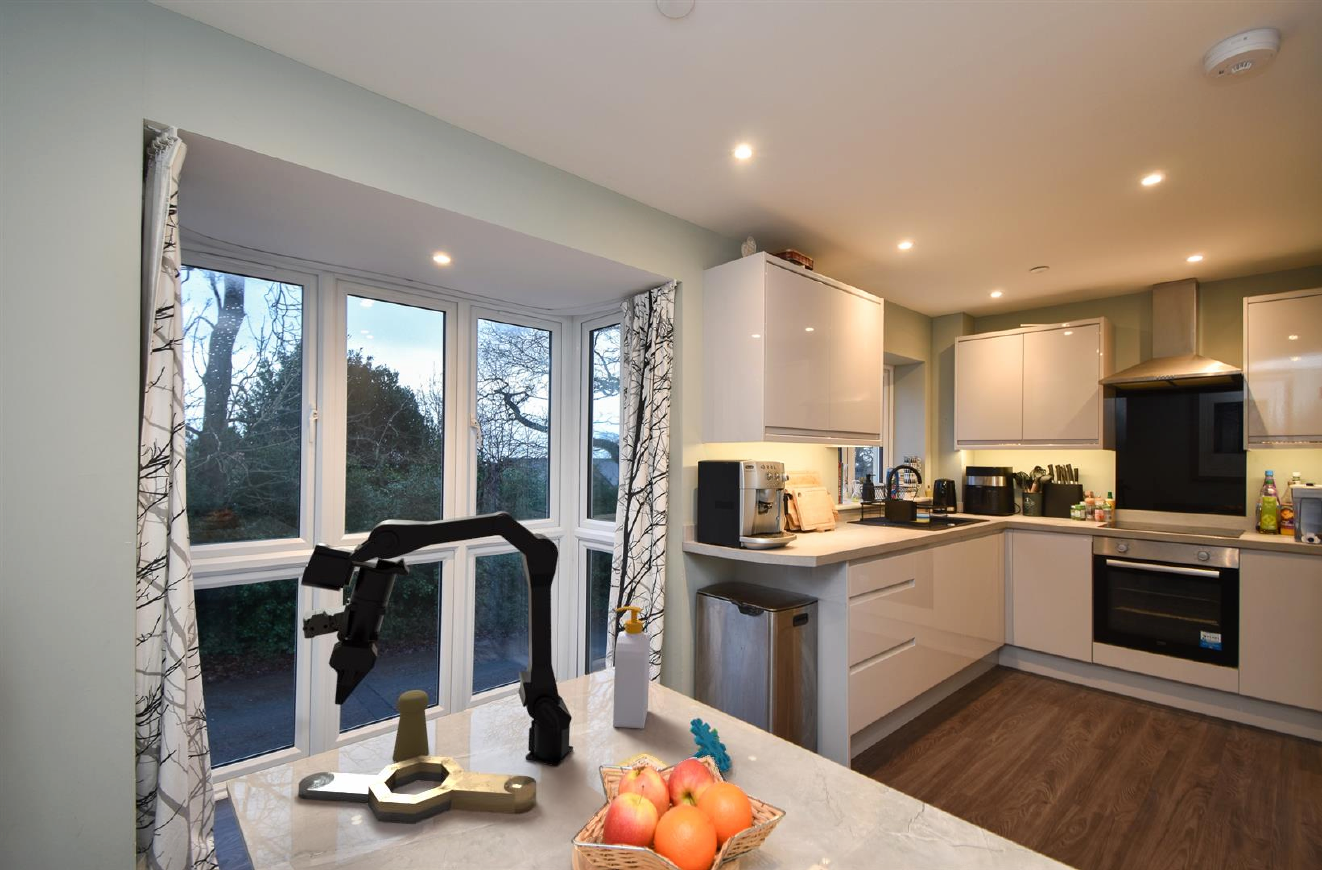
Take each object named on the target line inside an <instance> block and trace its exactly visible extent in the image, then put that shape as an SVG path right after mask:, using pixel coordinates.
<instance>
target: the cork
mask: <svg viewBox="0 0 1322 870" xmlns="http://www.w3.org/2000/svg"><path fill="white" fill-rule="evenodd" d="M396 704H397V705H396V706H397V707H396V708H397V711H398V713H399V714H400V716H399V720H398V726H397V732H396V737H395V742H394V749H393V754H392V760H393V761H394V762H395V761H396V762H395V763H398V762H402V761H405V760H408V759H411V758H414V757H418V756H429V754H430V748H429V747H430V746H429V739H428V728H427V719H426V710H427V708H428V706H429V695H428V694H427V692H426V691H424V690H421V689H413V690H408V691H405V692H404V693H402V694H401V695H400V696H399V697H398V699H397V703H396Z"/></svg>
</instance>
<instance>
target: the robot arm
mask: <svg viewBox="0 0 1322 870" xmlns="http://www.w3.org/2000/svg"><path fill="white" fill-rule="evenodd" d="M495 536H498V537H499V536H500V537H501V538H503V539H504V540H505V541H507V542H508V544H510V545H512V547H514V548H515V549H517V550H518V551H519V552H520V553H521V558H522V564H523V568H524V569H523V570H524V574H525V577H526V580H527V585H528V586H527V588H528V590H527V591H528V595H527V597H528V664H527V667H526V670H519V671H518V677H519V688H518V695H519V699H520V701H521V703H522V707H523V708H525V709H526V711H527V714H528V716H529V717H530V718H532V720H531V721H530V722H531V723H530V724H531V726H530V727H529V729H528V747H527V748H528V753H527V754H526V755H525V760H526V761H531V762H535V763H540V764H545V765H549V766H552V767H557V766H559V765H560V764H561V763H562V762H563V761H564V760H565V759H566V758H567V757H568V756H569V755H570V754H571V753H572V752H573V750H574V747H573V746H571V745H570V727H571V722H572V719H573V717H572V715H571V713H570V711H569V709H568V707H567V704H566V703H565V701H564V699H563V697H562V696H561V695H560V694H559V692H558V691H559V690H558V686H557V680H556V677H555V673H554V672H555V671H554V668H553V663H552V662H553V661H552V658H553V657H552V585H553V581H554V578H555V574H556V572H557V565H558V559H559V549H558V546H557V545H556V543H554V541H553V540H551V539H550V537H548V536H546V535H545V534H543V533H533V532H532V531H530V530H529V529H528V528H527V527H525V526H524V525H522V524H521V523H520V522H519V521H517V520H516V519H515V518H514V517H513V516H512V515H511V514H510V513H509V512H507V511H505V510H499V511H496V512H493V513H487V514H486V513H485V514H478V515H471V516H462V517H456V518H448V519H440V520H432V521H421V520H420V521H419V520H407V519H385V520H383V521H381V522H379V523H378V524H376V525H375V526H374V527H373V528H372V529H371V532H370V533H369V535H368V537H367V539H365V540H364V542H361V544H357V546H356V547H355V548H354V549H353V550H352V549H347V548H341V547H336V546H333V545H329V544H327V543H322V542H318V543H317V544H316V545H315V546H314V550H313V552H312V553H311V556H310V558H309V561H308V564H307V565H305V568H304V570H303V574H302V577H301V582H300V585H301V586H305V587H311V588H314V589H315V588H316V589H322V590H323V589H324V590H327V591H334V592H341V590H342V589H344V588H345V587H348V588H349V587H350V586H351V583H352V580H353V578H354V574H355V571H356V568H358V572H357V575H356V579H355V582H354V585H353V588H352V591H351V593H350V594H351V595H350V598H349V597H348V598H347V601H346V603H345V605H339V606H337V605H336V606H330V607H324V608H319V609H312V610H308V611H306V612H305V613H304V615H303V617H302V624H303V627H302V631H303V636H304V639H314V638H315V637H318V636H323V635H329V634H334V633H336V632H337V633H336V638H337V640H338V641H337V642H335V643H334V645H333V648H332V651H331V654H330V657H329V661H328V664H329V667H330V668H331V669H333V670H334V672H336V685H335V695H334V698H335V699H334V705H338V706H339V705H340V706H342V705H344V703H345V702H346V701H347V700H348V698H349V697H350V696H351V695H352V693H353V692H354V691H355V690H356V688H357V687H358V686H359V685H360V683H361V682H362V681H363V680H364V679H365V677H366V676H367V675H368V674H369V672H371V671H372V670H373V669H374V668H375V664H376V660H377V657H378V650H379V649H378V648H377V646H376V645H375V643H376V642H378V639H379V636H380V630H381V626H382V624H383V620H384V617H385V616H386V613H387V610H388V609H387V608H388V604H389V599H390V597H391V594H392V591H393V587H394V584H395V580H396V577H397V576H398V575H399V576H404V577H408V576H409V574H410V568H409V566H408V565H407V564H406V562H405V558H403V557H401V558H400V559H398V560H396V561H393V560H391V559H394V558H395V559H396V557H397V558H398V557H400V556H403V555H407V554H410V553H413V552H415V551H417V550H420V549H423V548H426V547H429V546H434V545H439V544H440V545H441V544H449V543H455V542H461V541H468V540H475V539H476V540H477V539H483V538H491V537H495ZM374 559H377V561H376V562H373V561H371V560H374Z"/></svg>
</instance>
